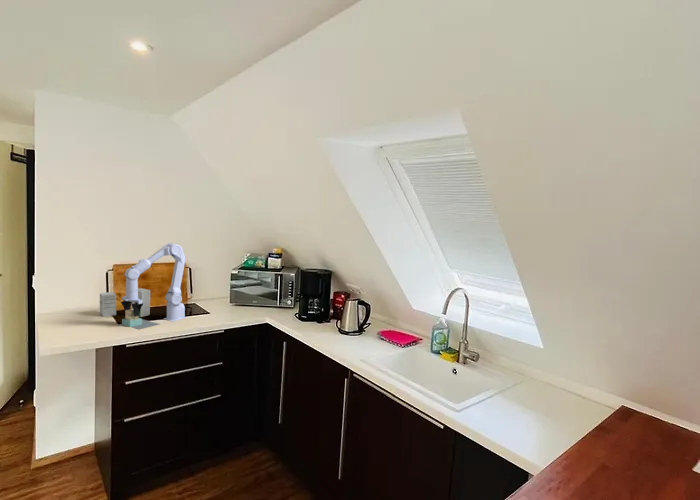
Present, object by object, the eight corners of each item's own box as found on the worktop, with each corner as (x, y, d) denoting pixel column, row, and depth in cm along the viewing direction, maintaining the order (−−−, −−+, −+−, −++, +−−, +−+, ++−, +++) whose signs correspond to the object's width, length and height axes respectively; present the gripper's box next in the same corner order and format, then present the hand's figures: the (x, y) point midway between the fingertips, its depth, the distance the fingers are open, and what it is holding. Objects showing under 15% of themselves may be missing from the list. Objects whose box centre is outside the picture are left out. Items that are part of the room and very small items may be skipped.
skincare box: (130, 315, 248) (130, 289, 247) (140, 313, 254) (140, 287, 253) (141, 317, 245) (141, 291, 244) (150, 315, 251) (150, 289, 250)
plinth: (134, 322, 235) (134, 316, 234) (142, 324, 231) (142, 318, 231) (122, 324, 229) (122, 319, 228) (130, 327, 225) (130, 321, 225)
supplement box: (99, 314, 249) (99, 292, 248) (113, 312, 254) (113, 291, 253) (102, 316, 244) (102, 295, 242) (116, 315, 248) (116, 293, 247)
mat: (142, 319, 241) (142, 319, 241) (160, 324, 233) (160, 324, 233) (120, 325, 229) (120, 324, 229) (139, 330, 222) (139, 329, 222)
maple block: (133, 317, 233) (133, 308, 232) (138, 318, 231) (138, 310, 230) (125, 319, 229) (125, 310, 228) (130, 320, 227) (130, 311, 226)
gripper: (116, 289, 228) (116, 314, 229) (133, 293, 221) (133, 318, 223) (128, 287, 234) (129, 311, 236) (145, 291, 227) (145, 316, 229)
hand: (132, 315), depth 230 cm, fingers open, 7 cm apart
